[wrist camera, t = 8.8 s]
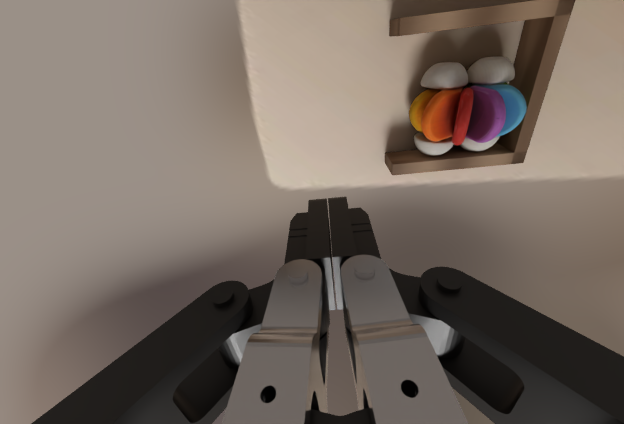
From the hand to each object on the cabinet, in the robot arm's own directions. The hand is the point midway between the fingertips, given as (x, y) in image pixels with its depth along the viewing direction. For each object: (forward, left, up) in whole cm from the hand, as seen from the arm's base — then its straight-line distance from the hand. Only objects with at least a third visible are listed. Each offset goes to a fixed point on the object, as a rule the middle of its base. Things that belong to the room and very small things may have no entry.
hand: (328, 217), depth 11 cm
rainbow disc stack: (-14, +1, -21) cm, 25 cm away
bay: (-13, 0, -21) cm, 24 cm away
